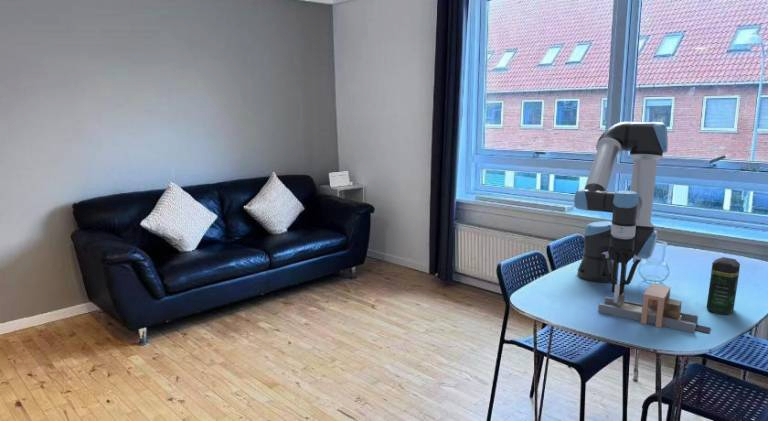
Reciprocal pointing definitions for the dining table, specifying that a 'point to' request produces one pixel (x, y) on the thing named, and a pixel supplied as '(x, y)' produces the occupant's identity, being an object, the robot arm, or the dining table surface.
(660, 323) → the tunnel
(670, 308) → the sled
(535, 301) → the dining table surface
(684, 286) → the dining table surface
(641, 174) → the robot arm
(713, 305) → the coffee jar
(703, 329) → the dark grey flat block
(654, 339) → the dining table surface
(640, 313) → the rail
